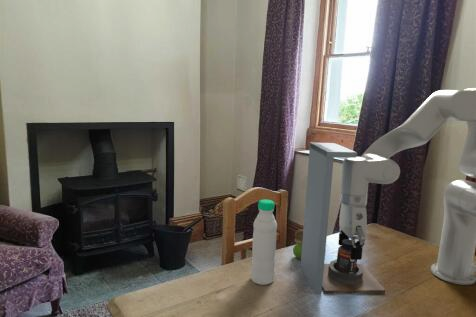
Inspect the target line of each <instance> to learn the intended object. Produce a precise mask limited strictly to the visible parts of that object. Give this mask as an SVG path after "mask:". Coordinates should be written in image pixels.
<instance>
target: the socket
mask: <svg viewBox="0 0 476 317" xmlns="http://www.w3.org/2000/svg"><path fill="white" fill-rule="evenodd" d="M336 264H337V259H334V260H331V261H330V262H329V263H324V271H323V282H322V292H323V293H324V294H325V295H331V294H333V295H339V294H340V295H344V294H347V295H348V294H349V295H350V294H351V295H353V294H357V295H358V294H361V295H362V294H386V289H385V287H383V285H381V283H380V282H379V281H378V280H377V279H376V278H375V276H373V274H372V273H371V272H370V271H369V269H367V267H365V265H364V264H363V263H357V267H356V273H343V272H340V271H338V270H336Z"/></svg>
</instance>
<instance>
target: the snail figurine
mask: <svg viewBox="0 0 476 317" xmlns="http://www.w3.org/2000/svg"><path fill="white" fill-rule="evenodd" d="M294 237H295V239H294V242H295V243H296V244H295V245H294V246H293V247H292V248H293V249H292V253H293V255H294V256H295V257H296V258H297V259H300V260H301V254H302V241H303V229H297V230H296V231H295V233H294Z"/></svg>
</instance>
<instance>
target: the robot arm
mask: <svg viewBox="0 0 476 317" xmlns="http://www.w3.org/2000/svg"><path fill="white" fill-rule="evenodd" d="M448 121H456V122H466V125H467V131H466V136H465V140H464V143H463V147H462V150H461V152H460V153H461V154H460V157H459V161H458V168H459V171H460V172H461V173H462V174H463V175H465V176H467V177H469V178H473V179H476V86H475V87H468V88H464V89H440V90H437V91H435V92H433V93H432V94H431V95H429V97H427V98H426V99H425V101H424V102H422V103H421V105H419V107H418V108H416V109H415V111H414V112H413V113H412V114H411V115H410V116H409V117H408V118H407V119H406V120H405V121H404V122H403V123H402V124H401V125H400V126H397V127H396V128H394V129H392V130H391V131H389V132H387V133H385V134H384V135H382V136H381V137H379V138H378V139H376V140H375V141H374V142H373V143H372V144H371V145H370V146H369V147H368V148H367V149H366V150H365V151H364V152H363V154H362V155H361V156H357V157H356V158H344V159H343V161H342V171H341V172H342V173H341V188H340V200H339V201H340V202H339V203H340V204H341V205H340V210H339V211H340V212H339V216H338V217H339V218H338V220H339V222H338V226H339V228H338V232H339V233H338V246H342V241H343V240H345V239H349V240H352V245H353V246H351V256H350V258H351V260H357V261H361V260H362V258H363V257H362V256H363V248H364V245H365V241H366V239H367V229H368V228H367V223H368V220H367V216H368V215H367V213H368V212H367V207H366V206H367V204H368V191H369V183H371V184H373V183H374V184H379V185H380V184H381V185H387V184H388V185H389V184H393V183H394V182H396V181H397V180H398V179H399V178H400V174H401V168H400V166H399V164H398V163H397V162H396V161H394V160H393V159H390V158H391V157H392V156H394V155H395V154H398V153H400V152H401V151H404V150H407V149H412V148H416V147H420V146H423V145H425V144H427V143H428V142H429V141H430V140H432V138H433V137H434V136H435V135H436V134H437V132H439V131H440V129H441V128H442V127H443V126H444V125H445V124H446V123H447V122H448ZM443 204H444V214H443V215H444V216H443V222H442V227H441V228H442V229H441V234H440V236H441V237H440V242H439V247H438V248H439V249H438V254H437V262H436V263H433V264H431V265H430V272H431V273H432V274H433V275H434V276H435V277H438V278H439V279H441V280H443V281H445V282H448V283H452V284H456V285H460V286H461V285H463V286H469V285H473V284H475V283H476V275H475V274H476V263H475V262H474V257H475V250H476V182H474V181H471V180H467V179H456V180H452V181H451V182H450V183H448V184H447V185H446V187H445V189H444V193H443ZM356 240H357V241H356Z"/></svg>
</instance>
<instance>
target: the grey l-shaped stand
mask: <svg viewBox="0 0 476 317" xmlns="http://www.w3.org/2000/svg"><path fill="white" fill-rule="evenodd" d="M308 148H309V150H308V151H309V152H308V166H307V177H306V178H307V179H306V181H307V182H306V189H305V191H306V193H305V204H304V206H305V207H304V215H303V216H304V217H303V227H302V228H303V229H302V230H303V241H302V254H301V259H300V268H301V271H302V272H303V274H304V276H305V278H306V280H307V282H308V284H309V287H310V288H311V289H312V291H313V293H314V295H322V292H323V290H322V282H323V271H324V264H325V259H326V258H325V257H326V247H327V236H328V224H329V216H330V215H329V213H330V206H331V205H330V204H331V203H330V202H331V193H332V192H331V191H332V181H333V173H334V172H333V169H334V161H335V160H334V159H335V158H340V159H343V158H344V159H345V158H356V157H358V155H357V154H358V152H357V151H354V150H352V149H349V148H347V147H345V146H343V145H340V144H339V143H335V142H313V141H311V142H309V146H308Z"/></svg>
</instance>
